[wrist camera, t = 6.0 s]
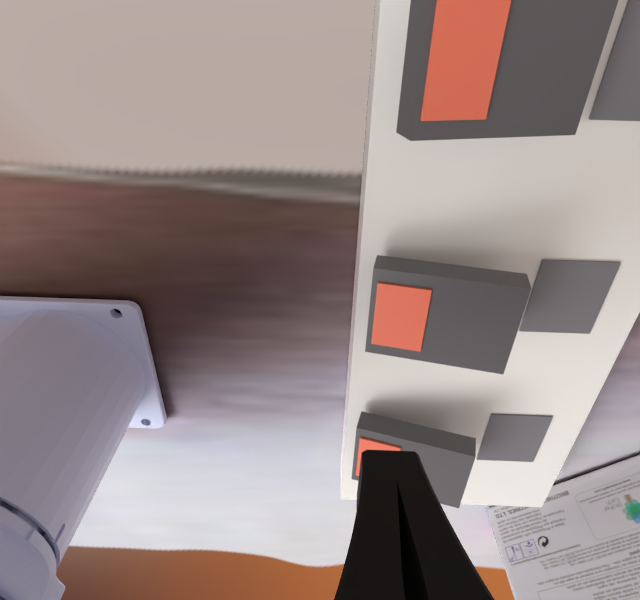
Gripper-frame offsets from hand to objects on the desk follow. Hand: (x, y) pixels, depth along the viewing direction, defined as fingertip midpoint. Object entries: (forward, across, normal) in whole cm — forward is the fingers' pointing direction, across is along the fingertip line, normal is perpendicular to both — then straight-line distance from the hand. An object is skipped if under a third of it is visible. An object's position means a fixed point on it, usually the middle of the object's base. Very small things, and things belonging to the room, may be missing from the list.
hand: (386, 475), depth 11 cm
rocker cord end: (+6, -2, -9) cm, 11 cm away
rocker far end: (+6, -2, +7) cm, 10 cm away
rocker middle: (+6, -2, -1) cm, 7 cm away
